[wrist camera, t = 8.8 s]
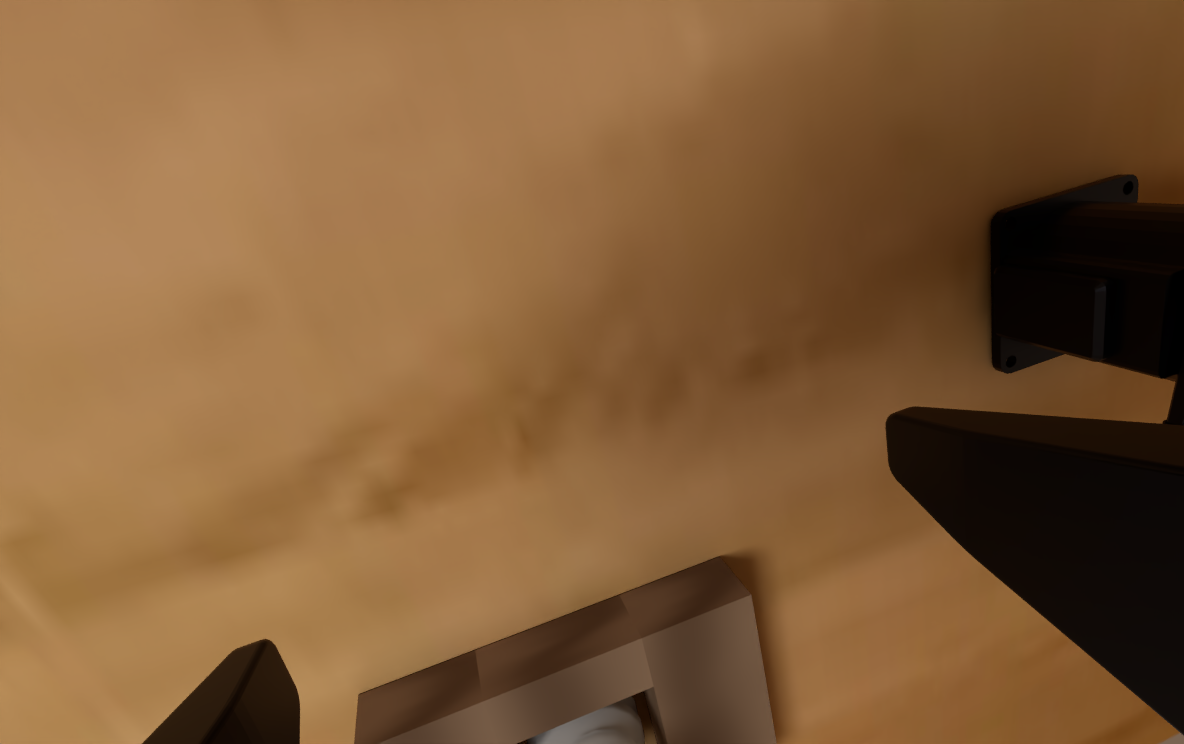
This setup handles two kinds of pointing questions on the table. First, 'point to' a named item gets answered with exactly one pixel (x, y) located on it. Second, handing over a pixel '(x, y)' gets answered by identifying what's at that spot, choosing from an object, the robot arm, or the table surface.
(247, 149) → the table surface
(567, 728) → the rook chess piece
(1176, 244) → the robot arm
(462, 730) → the socket board
